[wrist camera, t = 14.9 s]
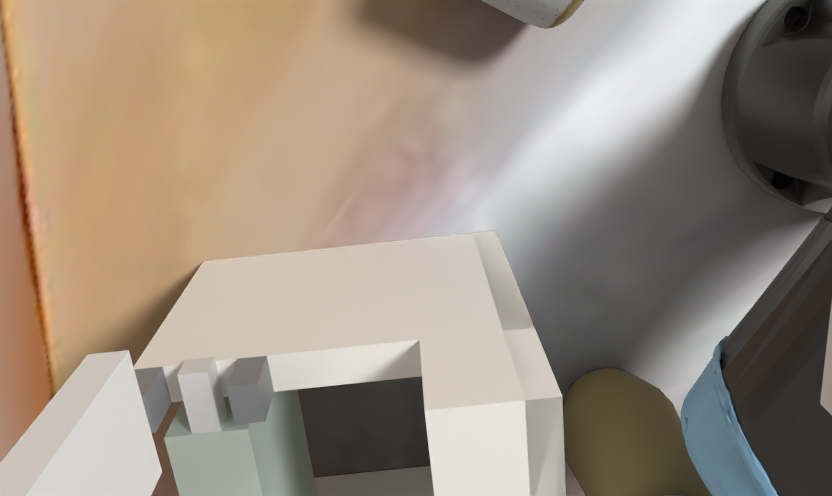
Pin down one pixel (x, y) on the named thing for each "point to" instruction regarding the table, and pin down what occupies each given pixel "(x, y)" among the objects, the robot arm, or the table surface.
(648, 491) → the squeeze bottle
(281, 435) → the door
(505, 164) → the table surface
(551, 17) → the ceramic mug
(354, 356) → the cabinet
